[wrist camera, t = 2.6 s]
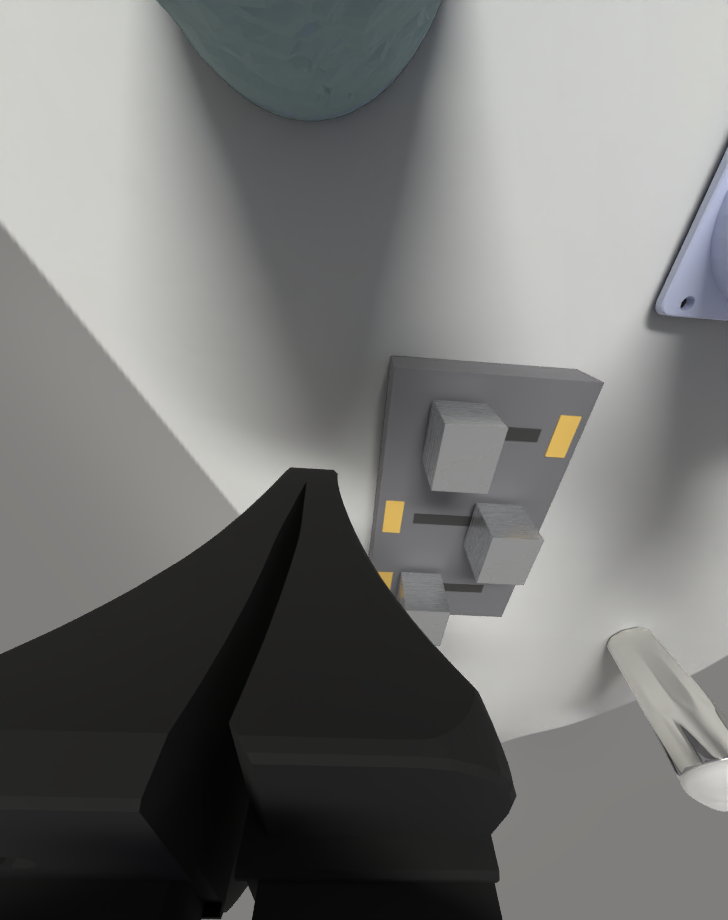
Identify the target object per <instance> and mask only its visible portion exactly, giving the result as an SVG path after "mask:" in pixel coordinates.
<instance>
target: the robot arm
mask: <svg viewBox="0 0 728 920" xmlns="http://www.w3.org/2000/svg"><path fill="white" fill-rule="evenodd" d="M685 298H686V299H687V301H686V304H685V305H684V306H683V307H682V308H680V306H681V303H682V301H683V300H684V299H685ZM655 307H656V311H657V313H658V314H661V315H665V316H674V317H687V318H699V319H711V320H724V321H728V148H727V150H726V152H725V154H724V156H723V159H722V161H721V163H720V165H719V167H718V169H717V172H716V174H715V176H714V178H713V180H712V182H711V185H710V187H709V189H708V191H707V193H706V195H705V198H704V200H703V202H702V204H701V206H700V208H699V211H698V213H697V215H696V217H695V219H694V221H693V224H692V226H691V228H690V230H689V232H688V234H687V237H686V239H685V241H684V243H683V245H682V247H681V250H680V252H679V254H678V256H677V258H676V260H675V263H674V265H673V267H672V269H671V271H670V273H669V276H668V278H667V280H666V282H665V284H664V286H663V289H662V291H661V293H660V295H659V297H658V299H657V302H656V306H655ZM337 476H338V474H337V473H336V472H335V471H334V470H324V469H307V468H289V469H288V470H287V471H286V472H285V473H284V474H283V475H282V476H281V477H280V478H279V479H278V480H277V481H276V482H275V483H274V484H273V485H272V486H271V487H270V488H269V489H268V490H267V491H266V492H265V493H264V494H263V495H262V496H261V497H260V498H259V499H258V500H257V501H256V502H255V503H254V504H252V505H251V506H250V507H249V508H248V509H247V510H246V511H245V512H244V513H243V514H241V515H240V516H239V517H238V518H237V519H235V520H234V521H233V522H232V523H231V524H229V525H228V526H227V527H226V528H225V529H223V530H222V531H221V532H220V533H219V534H217V535H216V536H215V537H213V538H212V539H211V540H210V541H208V542H207V543H205V544H204V545H202V546H201V547H200V548H198V549H197V550H195V551H194V552H192V553H191V554H190V555H188V556H186V557H185V558H184V559H182V560H180V561H179V562H177V563H176V564H174V565H172V566H171V567H169V568H167V569H166V570H164V571H162V572H161V573H159V574H157V575H156V576H154V577H152V578H151V579H149V580H147V581H146V582H144V583H142V584H141V585H139V586H137V587H136V588H134V589H132V590H130V591H129V592H127V593H125V594H123V595H121V596H119V597H117V598H116V599H114V600H112V601H110V602H108V603H106V604H104V605H103V606H101V607H99V608H97V609H95V610H93V611H91V612H89V613H87V614H85V615H83V616H81V617H79V618H77V619H75V620H73V621H71V622H69V623H67V624H65V625H63V626H61V627H59V628H57V629H55V630H53V631H51V632H48V633H46V634H44V635H42V636H40V637H37V638H36V639H33V640H31V641H29V642H27V643H24V644H22V645H20V646H18V647H15V648H13V649H11V650H9V651H7V652H4V653H2V654H0V920H201V919H221V917H222V914H223V912H227V911H228V910H229V909H230V908H231V907H232V906H233V904H234V903H235V902H236V901H237V900H238V898H239V897H240V896H241V894H242V893H243V892H244V890H245V889H246V887H247V886H249V889H250V891H251V893H252V896H253V898H254V900H255V905H254V911H253V917H252V920H502V915H501V911H500V906H499V901H498V897H497V892H496V888H495V883H497V882H498V881H499V868H498V864H497V859H496V855H495V851H494V846H493V842H492V837H491V834H492V833H493V831H494V830H495V829H496V828H497V827H498V826H499V824H500V823H501V822H502V821H503V820H504V818H505V817H506V816H507V815H508V813H509V811H510V809H511V807H512V805H513V802H514V800H515V798H516V793H515V789H514V785H513V781H512V776H511V772H510V769H509V765H508V762H507V759H506V757H505V754H504V751H503V748H502V746H501V743H500V741H499V738H498V736H497V733H496V731H495V728H494V726H493V723H492V721H491V719H490V716H489V714H488V712H487V710H486V708H485V705H484V703H483V701H482V699H481V697H480V695H479V693H478V691H477V690H476V689H475V688H474V687H473V686H472V685H471V684H470V683H469V681H468V680H467V679H466V678H465V677H464V676H463V675H462V674H461V673H460V672H459V671H458V670H457V669H456V668H455V667H454V666H453V665H452V664H451V663H450V662H449V661H448V660H447V658H446V657H445V656H444V655H443V654H442V653H441V652H440V651H439V650H438V649H437V648H436V647H435V645H434V644H433V643H432V642H431V641H430V640H429V638H428V637H427V636H426V635H425V634H424V633H423V631H422V630H421V629H420V628H419V627H418V626H417V624H416V623H415V622H414V621H413V620H412V618H411V617H410V616H409V614H408V613H407V612H406V611H405V609H404V608H403V607H402V605H401V604H400V603H399V601H398V600H397V599H396V597H395V596H394V595H393V593H392V592H391V591H390V590H389V588H388V587H387V585H386V584H385V582H384V581H383V579H382V578H381V576H380V575H379V573H378V572H377V570H376V569H375V567H374V565H373V564H372V562H371V561H370V559H369V557H368V556H367V554H366V552H365V550H364V548H363V547H362V545H361V543H360V541H359V539H358V537H357V535H356V533H355V531H354V529H353V526H352V524H351V522H350V520H349V517H348V515H347V512H346V509H345V507H344V504H343V501H342V498H341V494H340V491H339V486H338V480H337Z"/></svg>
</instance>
